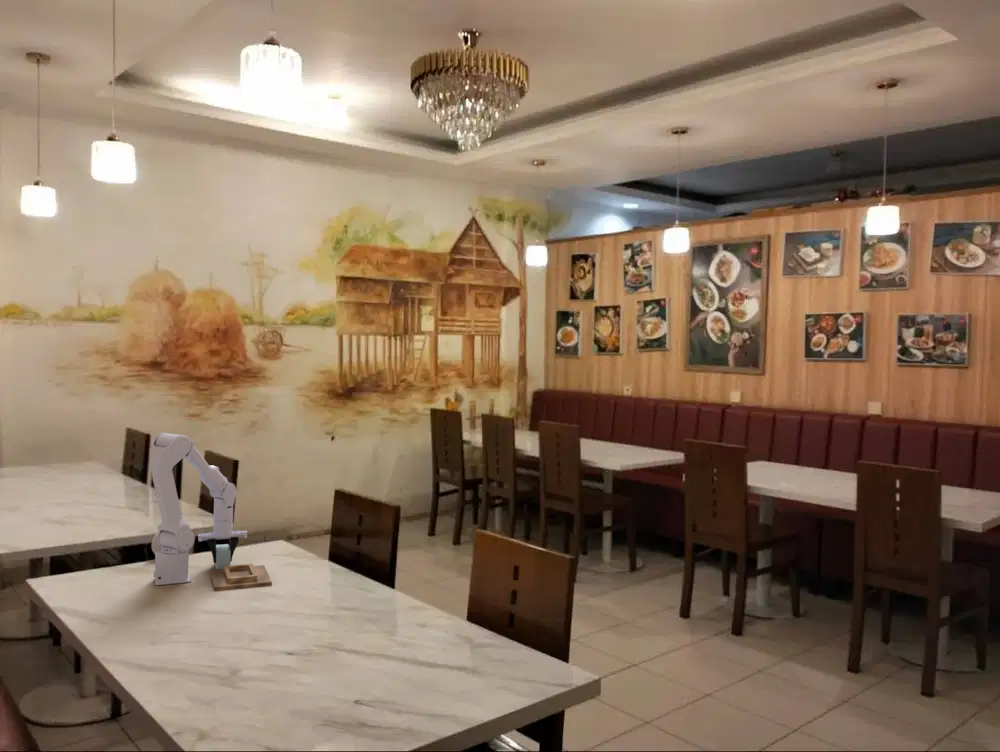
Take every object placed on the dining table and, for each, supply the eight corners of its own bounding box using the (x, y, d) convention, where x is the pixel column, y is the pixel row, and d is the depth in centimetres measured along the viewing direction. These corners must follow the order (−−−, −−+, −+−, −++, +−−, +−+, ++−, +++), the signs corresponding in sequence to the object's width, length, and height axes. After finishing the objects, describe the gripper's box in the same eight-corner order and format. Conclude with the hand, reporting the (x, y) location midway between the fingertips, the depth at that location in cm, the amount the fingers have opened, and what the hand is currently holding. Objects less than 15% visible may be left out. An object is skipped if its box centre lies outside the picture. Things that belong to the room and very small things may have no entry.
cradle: (214, 590, 215) (214, 582, 215) (210, 573, 231) (210, 565, 231) (271, 585, 222) (271, 576, 222) (263, 568, 238) (264, 560, 238)
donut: (153, 561, 241) (154, 531, 241) (149, 559, 244) (149, 529, 243) (184, 556, 249) (184, 526, 249) (179, 553, 251) (179, 524, 251)
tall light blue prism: (216, 571, 234) (217, 552, 233) (214, 563, 242) (215, 544, 241) (230, 570, 235) (230, 551, 235) (227, 562, 243) (228, 543, 243)
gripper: (245, 515, 245) (245, 556, 245) (198, 518, 239) (197, 560, 239) (248, 519, 238) (247, 562, 239) (199, 522, 232) (198, 566, 233)
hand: (222, 561), depth 238 cm, fingers closed on tall light blue prism, 4 cm apart
